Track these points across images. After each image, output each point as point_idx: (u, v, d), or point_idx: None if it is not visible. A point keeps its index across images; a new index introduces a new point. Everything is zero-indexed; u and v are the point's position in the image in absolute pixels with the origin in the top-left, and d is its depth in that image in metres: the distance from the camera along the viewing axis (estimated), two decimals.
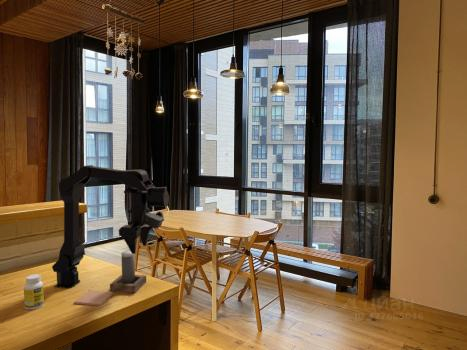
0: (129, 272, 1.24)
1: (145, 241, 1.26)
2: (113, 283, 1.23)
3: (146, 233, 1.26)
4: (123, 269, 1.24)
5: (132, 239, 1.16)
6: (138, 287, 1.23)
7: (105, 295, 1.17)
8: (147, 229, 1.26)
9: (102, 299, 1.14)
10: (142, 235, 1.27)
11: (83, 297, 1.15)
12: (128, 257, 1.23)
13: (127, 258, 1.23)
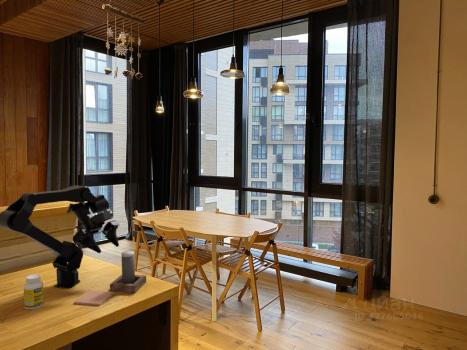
0: (129, 272, 1.24)
1: (116, 242, 1.32)
2: (113, 283, 1.23)
3: (112, 235, 1.33)
4: (123, 269, 1.24)
5: (90, 241, 1.23)
6: (138, 287, 1.23)
7: (105, 295, 1.17)
8: (111, 232, 1.33)
9: (102, 299, 1.14)
10: (111, 239, 1.33)
11: (83, 297, 1.15)
12: (128, 257, 1.23)
13: (127, 258, 1.23)
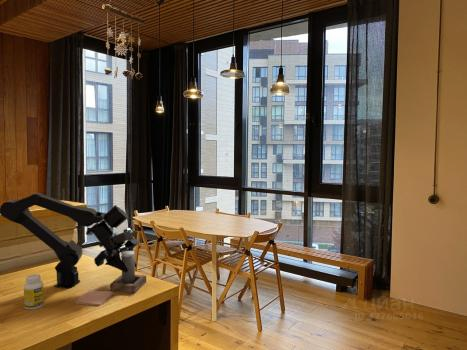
0: (129, 272, 1.24)
1: None
2: (113, 283, 1.23)
3: None
4: None
5: (116, 260, 1.23)
6: (138, 287, 1.23)
7: (105, 295, 1.17)
8: None
9: (102, 299, 1.14)
10: None
11: (83, 297, 1.15)
12: (128, 257, 1.23)
13: (127, 258, 1.23)
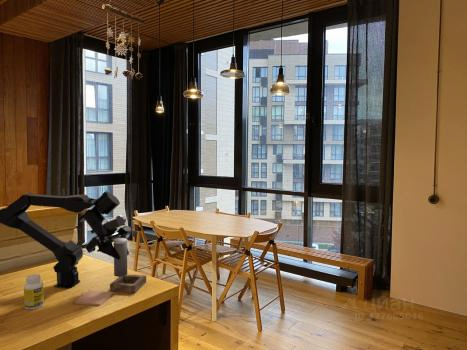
0: (121, 259, 1.21)
1: None
2: (113, 283, 1.23)
3: None
4: None
5: (108, 247, 1.20)
6: (138, 287, 1.23)
7: (105, 295, 1.17)
8: None
9: (102, 299, 1.14)
10: None
11: (83, 297, 1.15)
12: (120, 244, 1.20)
13: (119, 244, 1.20)
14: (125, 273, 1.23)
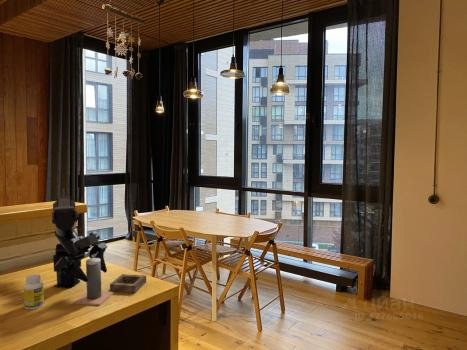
0: (94, 281, 1.14)
1: (103, 267, 1.19)
2: (113, 283, 1.23)
3: None
4: None
5: (75, 269, 1.11)
6: (138, 287, 1.23)
7: (105, 295, 1.17)
8: (98, 256, 1.20)
9: (102, 299, 1.14)
10: None
11: (83, 297, 1.15)
12: (92, 265, 1.13)
13: (91, 266, 1.13)
14: (98, 295, 1.15)
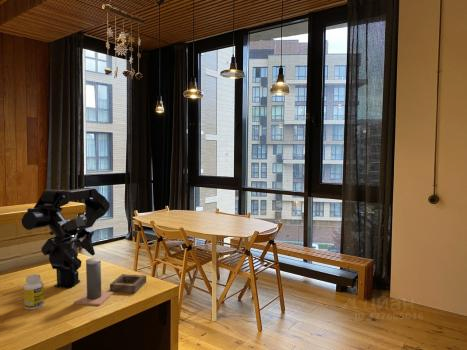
0: (94, 281, 1.14)
1: (91, 250, 1.21)
2: (113, 283, 1.23)
3: (87, 243, 1.22)
4: (88, 278, 1.14)
5: (61, 251, 1.12)
6: (138, 287, 1.23)
7: (105, 295, 1.17)
8: (86, 239, 1.22)
9: (102, 299, 1.14)
10: (86, 248, 1.22)
11: (83, 297, 1.15)
12: (92, 265, 1.13)
13: (91, 265, 1.13)
14: (99, 295, 1.15)
